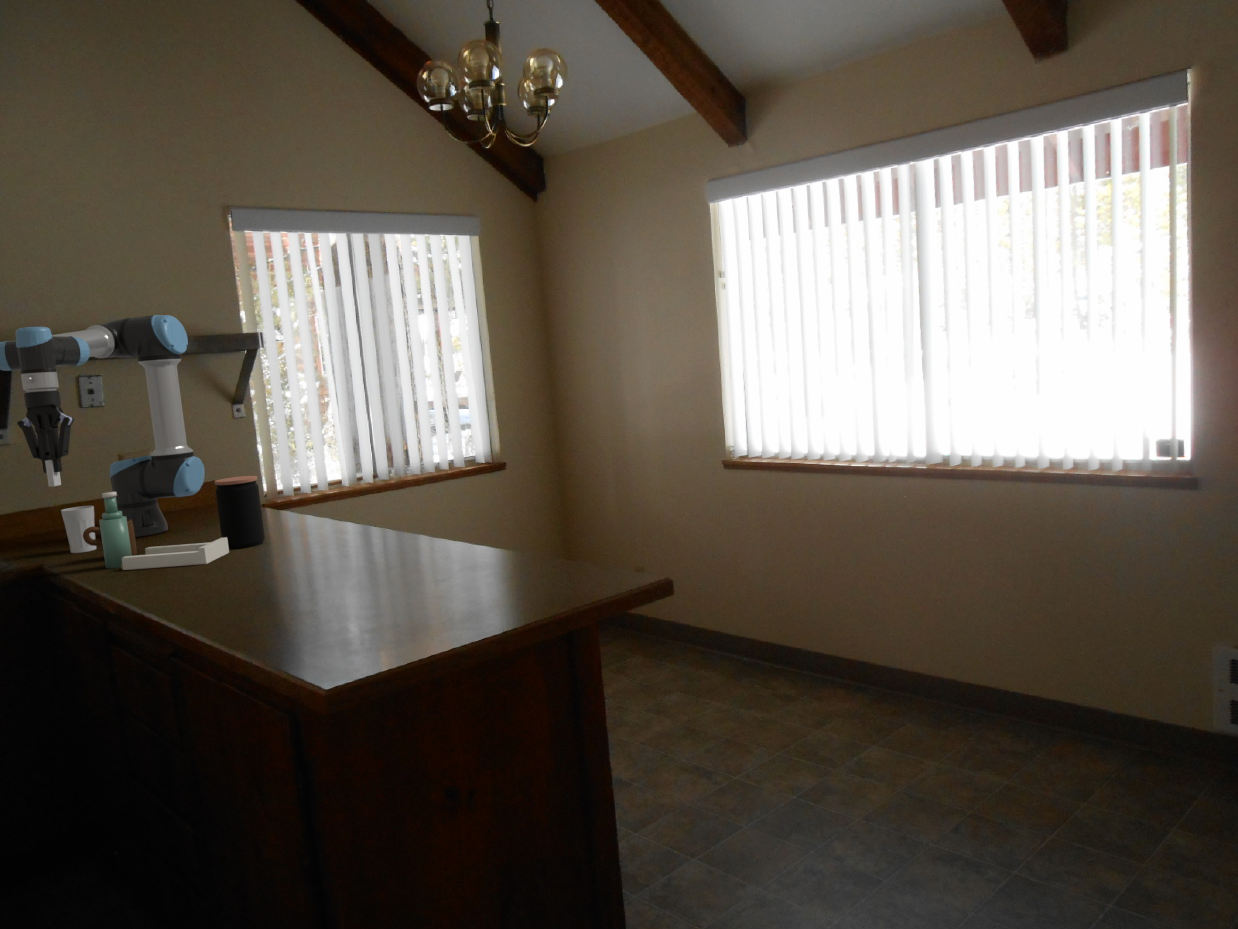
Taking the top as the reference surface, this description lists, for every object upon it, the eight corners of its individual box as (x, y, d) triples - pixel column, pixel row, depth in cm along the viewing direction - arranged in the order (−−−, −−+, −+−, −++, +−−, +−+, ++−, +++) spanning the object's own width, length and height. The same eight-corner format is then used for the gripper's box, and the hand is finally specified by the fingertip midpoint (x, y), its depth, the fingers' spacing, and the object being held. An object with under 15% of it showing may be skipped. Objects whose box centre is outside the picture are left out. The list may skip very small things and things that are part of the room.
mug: (91, 564, 236) (85, 528, 235) (82, 561, 242) (77, 526, 241) (141, 555, 245) (136, 520, 243) (132, 552, 250) (127, 518, 249)
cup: (89, 552, 255) (83, 509, 254) (61, 554, 256) (54, 511, 254) (105, 546, 263) (99, 504, 262) (78, 548, 263) (72, 507, 262)
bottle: (114, 563, 235) (103, 491, 233) (137, 562, 235) (127, 490, 233) (100, 569, 229) (90, 495, 227) (124, 567, 229) (114, 493, 227)
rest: (146, 558, 239) (144, 543, 238) (229, 552, 238) (227, 537, 238) (119, 570, 226) (116, 554, 225) (206, 563, 225) (204, 547, 225)
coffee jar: (272, 539, 252) (264, 474, 250) (253, 548, 242) (245, 480, 240) (235, 542, 253) (227, 477, 251) (214, 550, 243) (206, 482, 241)
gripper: (5, 393, 223) (19, 489, 226) (58, 389, 223) (71, 485, 226) (25, 392, 231) (38, 485, 233) (76, 388, 231) (89, 481, 233)
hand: (55, 485), depth 230 cm, fingers closed
